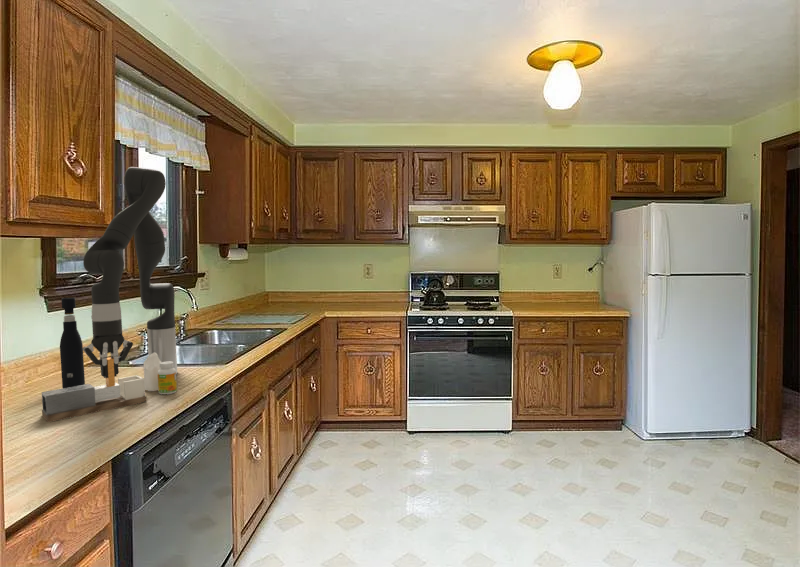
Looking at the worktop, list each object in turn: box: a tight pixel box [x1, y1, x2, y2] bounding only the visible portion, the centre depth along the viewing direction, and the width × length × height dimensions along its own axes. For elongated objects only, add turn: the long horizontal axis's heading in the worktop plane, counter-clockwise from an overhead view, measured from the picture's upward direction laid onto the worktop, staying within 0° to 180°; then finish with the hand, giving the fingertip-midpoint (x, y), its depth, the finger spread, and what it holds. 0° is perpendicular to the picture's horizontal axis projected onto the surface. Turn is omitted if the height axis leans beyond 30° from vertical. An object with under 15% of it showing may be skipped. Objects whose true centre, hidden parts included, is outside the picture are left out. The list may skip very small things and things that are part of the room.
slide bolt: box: [93, 356, 120, 402], centre depth 151 cm, size 14×4×12 cm, turn 134°
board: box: [41, 395, 147, 423], centre depth 153 cm, size 25×8×2 cm, turn 134°
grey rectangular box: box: [41, 383, 96, 416], centre depth 148 cm, size 12×5×5 cm, turn 134°
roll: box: [143, 352, 161, 392], centre depth 172 cm, size 6×12×6 cm
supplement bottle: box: [157, 361, 178, 395], centre depth 168 cm, size 5×5×10 cm
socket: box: [117, 374, 146, 400], centre depth 159 cm, size 6×6×5 cm
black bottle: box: [59, 297, 86, 389], centre depth 175 cm, size 6×6×30 cm
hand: (110, 376), depth 155 cm, fingers closed on slide bolt
